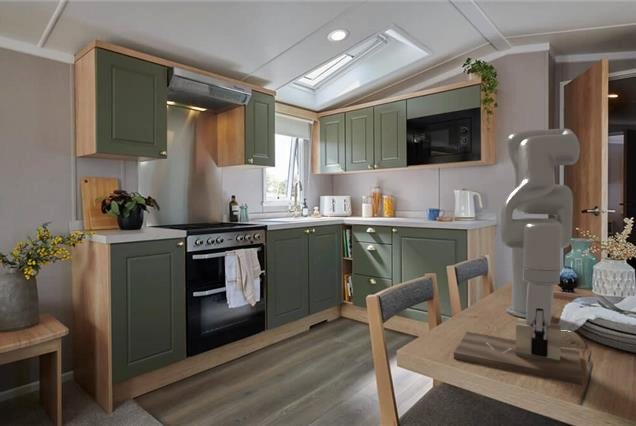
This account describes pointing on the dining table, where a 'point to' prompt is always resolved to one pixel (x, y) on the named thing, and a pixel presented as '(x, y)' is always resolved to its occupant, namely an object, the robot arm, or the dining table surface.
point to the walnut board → (517, 358)
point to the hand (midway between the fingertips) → (539, 350)
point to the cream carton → (525, 338)
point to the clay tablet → (571, 340)
